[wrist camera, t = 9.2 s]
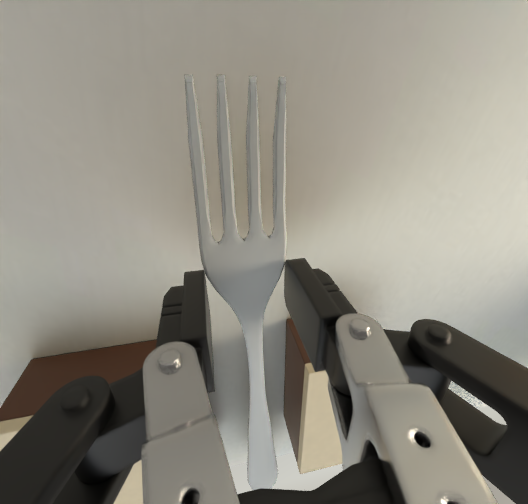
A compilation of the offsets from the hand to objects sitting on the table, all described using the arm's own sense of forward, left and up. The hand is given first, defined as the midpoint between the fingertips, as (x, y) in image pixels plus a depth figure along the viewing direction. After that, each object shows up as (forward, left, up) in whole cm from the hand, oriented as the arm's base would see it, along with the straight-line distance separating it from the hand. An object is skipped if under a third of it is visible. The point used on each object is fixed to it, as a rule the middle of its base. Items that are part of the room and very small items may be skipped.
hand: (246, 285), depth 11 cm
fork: (0, -5, 0) cm, 5 cm away
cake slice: (+4, -9, -3) cm, 11 cm away
